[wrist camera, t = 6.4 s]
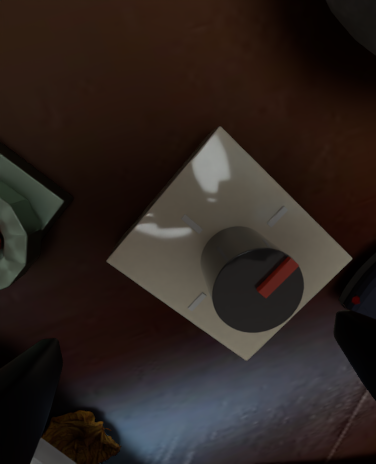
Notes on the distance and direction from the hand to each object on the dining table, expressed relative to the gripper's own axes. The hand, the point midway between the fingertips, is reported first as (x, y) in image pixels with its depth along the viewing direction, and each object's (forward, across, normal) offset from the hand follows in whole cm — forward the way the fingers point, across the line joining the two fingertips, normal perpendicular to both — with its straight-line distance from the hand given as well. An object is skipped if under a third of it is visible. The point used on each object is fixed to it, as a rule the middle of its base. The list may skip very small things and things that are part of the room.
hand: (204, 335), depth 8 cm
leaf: (+12, +9, +17) cm, 22 cm away
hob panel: (+10, -3, +1) cm, 11 cm away
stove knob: (+7, -3, +1) cm, 8 cm away
